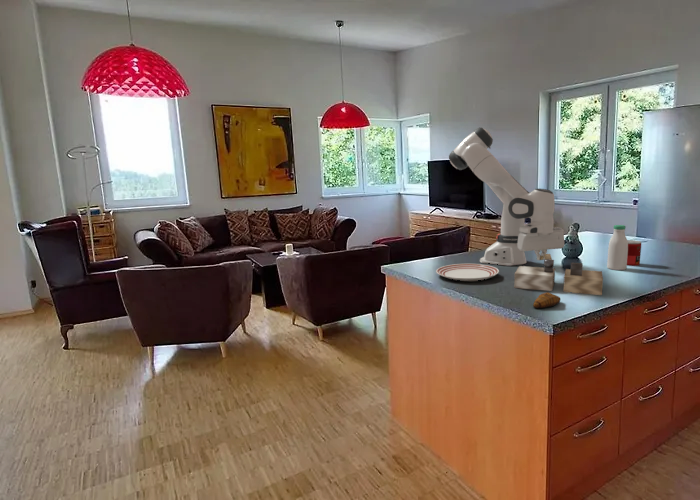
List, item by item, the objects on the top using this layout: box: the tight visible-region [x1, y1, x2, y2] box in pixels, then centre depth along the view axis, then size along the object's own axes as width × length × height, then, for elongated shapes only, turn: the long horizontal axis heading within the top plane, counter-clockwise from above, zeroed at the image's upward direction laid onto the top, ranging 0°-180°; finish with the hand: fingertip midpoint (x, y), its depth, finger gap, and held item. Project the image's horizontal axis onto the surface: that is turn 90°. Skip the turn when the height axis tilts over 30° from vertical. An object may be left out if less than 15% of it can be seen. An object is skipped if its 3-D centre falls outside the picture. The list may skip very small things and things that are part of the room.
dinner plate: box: [435, 263, 500, 282], centre depth 204 cm, size 28×27×3 cm
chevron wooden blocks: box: [513, 262, 604, 296], centre depth 181 cm, size 31×14×11 cm, turn 63°
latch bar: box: [543, 253, 555, 268], centre depth 187 cm, size 16×4×2 cm, turn 159°
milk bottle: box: [606, 224, 628, 271], centre depth 206 cm, size 8×8×20 cm
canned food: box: [627, 239, 642, 267], centre depth 215 cm, size 8×8×11 cm
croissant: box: [532, 291, 561, 309], centre depth 159 cm, size 14×7×5 cm, turn 121°
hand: (540, 259), depth 193 cm, fingers closed
